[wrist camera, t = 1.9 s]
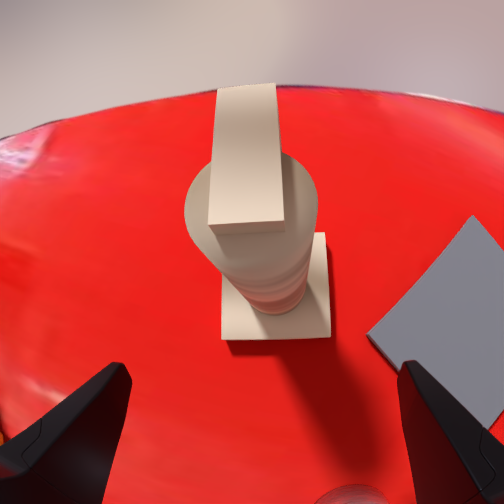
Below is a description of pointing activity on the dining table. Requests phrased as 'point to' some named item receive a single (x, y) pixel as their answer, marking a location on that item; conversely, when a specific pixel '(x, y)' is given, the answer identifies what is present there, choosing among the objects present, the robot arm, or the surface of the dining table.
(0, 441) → the lemon
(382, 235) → the dining table surface
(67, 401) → the robot arm
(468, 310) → the mat
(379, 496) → the steel tin
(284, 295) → the beige stacked pedestal
